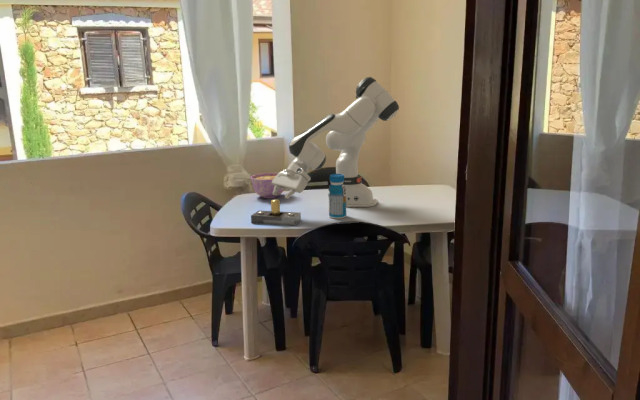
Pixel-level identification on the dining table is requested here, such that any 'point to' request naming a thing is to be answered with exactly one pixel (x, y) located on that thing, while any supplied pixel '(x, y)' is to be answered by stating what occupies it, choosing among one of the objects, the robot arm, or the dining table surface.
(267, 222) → the gray metal fixture block
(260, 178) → the bowl of food
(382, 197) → the dining table surface
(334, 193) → the beverage bottle
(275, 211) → the brass pin
